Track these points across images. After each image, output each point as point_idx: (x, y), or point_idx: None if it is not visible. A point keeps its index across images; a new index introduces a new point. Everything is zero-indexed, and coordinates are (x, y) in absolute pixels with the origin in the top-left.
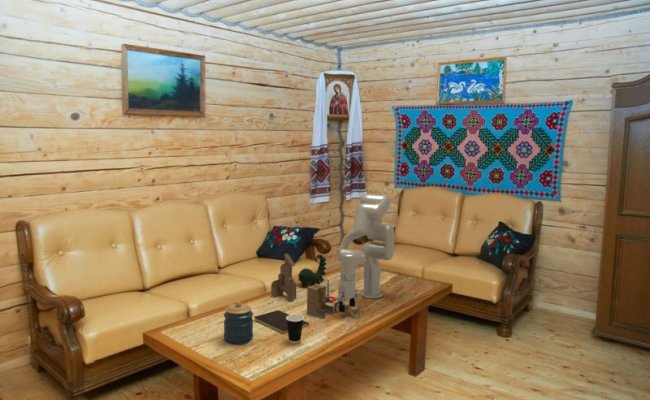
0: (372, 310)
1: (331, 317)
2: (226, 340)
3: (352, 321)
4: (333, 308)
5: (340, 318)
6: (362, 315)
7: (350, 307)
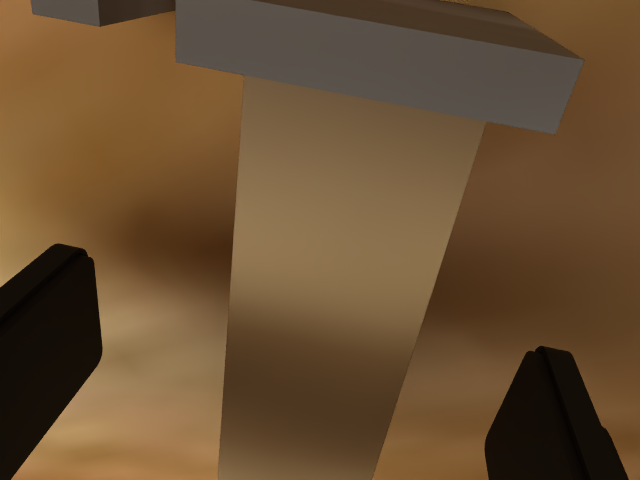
0: None
1: (11, 63)
2: None
3: (121, 409)
4: (129, 18)
5: (95, 236)
6: (419, 473)
7: (274, 469)
